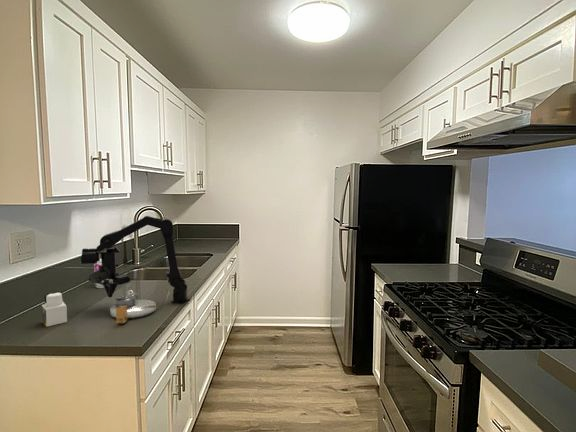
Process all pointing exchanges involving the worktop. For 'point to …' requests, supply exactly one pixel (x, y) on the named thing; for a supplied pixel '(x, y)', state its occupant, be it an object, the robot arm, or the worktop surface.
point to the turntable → (133, 310)
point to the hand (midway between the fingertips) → (110, 297)
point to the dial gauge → (132, 294)
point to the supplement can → (96, 268)
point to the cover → (125, 301)
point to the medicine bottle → (54, 309)
